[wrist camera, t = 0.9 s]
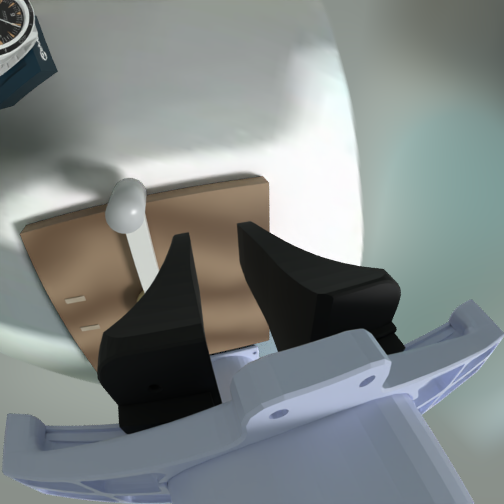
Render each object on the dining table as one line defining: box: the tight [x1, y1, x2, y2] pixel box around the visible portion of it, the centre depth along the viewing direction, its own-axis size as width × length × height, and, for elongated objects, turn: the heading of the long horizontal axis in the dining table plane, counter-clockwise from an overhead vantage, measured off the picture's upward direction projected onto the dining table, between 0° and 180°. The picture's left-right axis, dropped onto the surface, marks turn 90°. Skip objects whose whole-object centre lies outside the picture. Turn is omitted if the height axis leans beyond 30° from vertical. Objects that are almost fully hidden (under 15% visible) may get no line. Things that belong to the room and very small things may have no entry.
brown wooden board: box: [20, 176, 269, 371], centre depth 25 cm, size 18×20×2 cm
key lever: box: [105, 178, 159, 302], centre depth 20 cm, size 13×4×3 cm, turn 2°
